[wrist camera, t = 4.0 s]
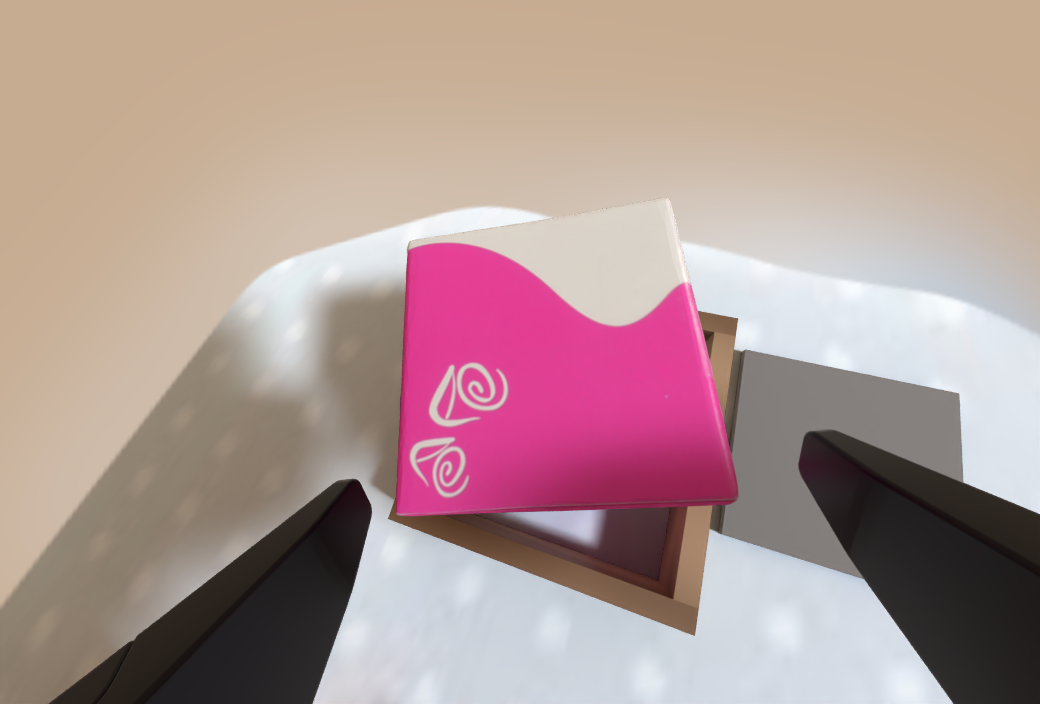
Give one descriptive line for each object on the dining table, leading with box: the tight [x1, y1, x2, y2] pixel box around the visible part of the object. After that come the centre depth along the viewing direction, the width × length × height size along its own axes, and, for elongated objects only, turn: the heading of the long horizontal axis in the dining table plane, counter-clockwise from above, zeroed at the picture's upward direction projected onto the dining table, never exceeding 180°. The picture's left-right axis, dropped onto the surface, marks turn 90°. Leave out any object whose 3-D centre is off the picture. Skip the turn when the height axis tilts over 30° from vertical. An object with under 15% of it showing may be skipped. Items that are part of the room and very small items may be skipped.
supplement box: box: [396, 198, 738, 516], centre depth 12 cm, size 6×6×12 cm
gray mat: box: [718, 350, 963, 579], centre depth 15 cm, size 8×8×1 cm
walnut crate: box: [388, 311, 738, 636], centre depth 16 cm, size 12×12×2 cm
